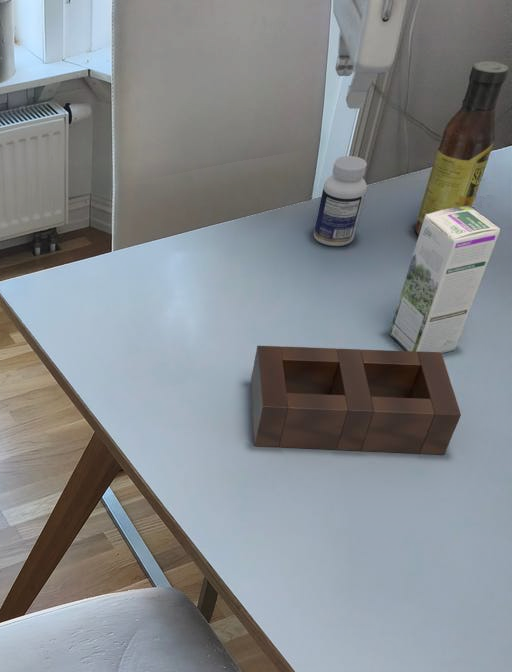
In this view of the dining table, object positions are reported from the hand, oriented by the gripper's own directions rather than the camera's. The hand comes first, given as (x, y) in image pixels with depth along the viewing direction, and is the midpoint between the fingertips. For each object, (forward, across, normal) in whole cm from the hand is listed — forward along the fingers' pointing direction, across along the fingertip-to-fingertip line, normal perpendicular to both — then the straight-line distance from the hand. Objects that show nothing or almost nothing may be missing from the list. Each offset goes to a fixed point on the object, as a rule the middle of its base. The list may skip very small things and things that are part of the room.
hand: (348, 89), depth 99 cm
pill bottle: (+21, +7, -4) cm, 22 cm away
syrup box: (+21, -18, -11) cm, 29 cm away
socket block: (+21, -32, 0) cm, 38 cm away
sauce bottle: (+21, +9, -18) cm, 29 cm away
